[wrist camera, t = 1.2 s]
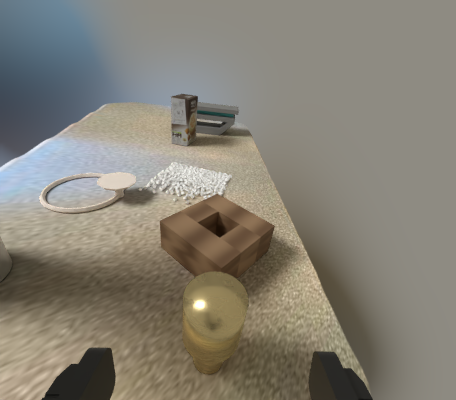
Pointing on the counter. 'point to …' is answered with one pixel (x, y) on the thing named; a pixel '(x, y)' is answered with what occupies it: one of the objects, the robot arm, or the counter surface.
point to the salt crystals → (200, 179)
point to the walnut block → (215, 237)
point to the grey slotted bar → (215, 118)
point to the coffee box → (184, 119)
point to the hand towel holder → (106, 181)
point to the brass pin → (213, 319)
